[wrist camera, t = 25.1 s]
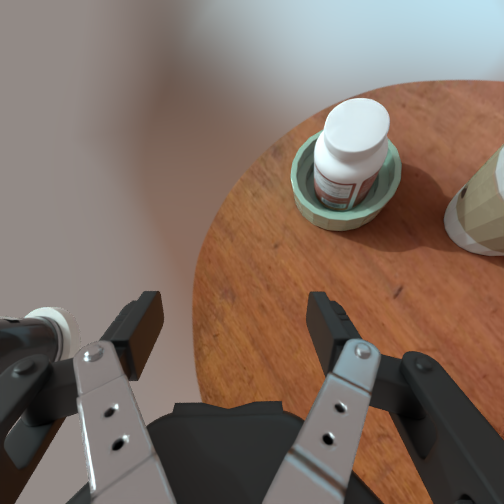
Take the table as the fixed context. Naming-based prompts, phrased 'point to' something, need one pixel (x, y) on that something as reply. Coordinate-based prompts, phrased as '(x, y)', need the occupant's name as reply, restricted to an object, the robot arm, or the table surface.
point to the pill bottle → (350, 153)
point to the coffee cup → (480, 210)
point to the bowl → (350, 218)
